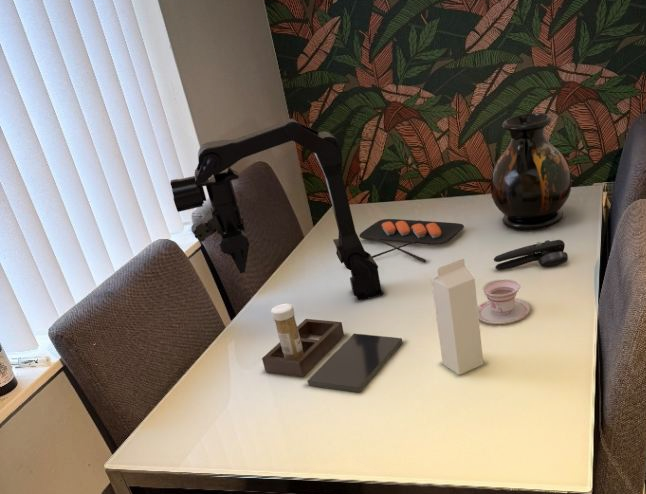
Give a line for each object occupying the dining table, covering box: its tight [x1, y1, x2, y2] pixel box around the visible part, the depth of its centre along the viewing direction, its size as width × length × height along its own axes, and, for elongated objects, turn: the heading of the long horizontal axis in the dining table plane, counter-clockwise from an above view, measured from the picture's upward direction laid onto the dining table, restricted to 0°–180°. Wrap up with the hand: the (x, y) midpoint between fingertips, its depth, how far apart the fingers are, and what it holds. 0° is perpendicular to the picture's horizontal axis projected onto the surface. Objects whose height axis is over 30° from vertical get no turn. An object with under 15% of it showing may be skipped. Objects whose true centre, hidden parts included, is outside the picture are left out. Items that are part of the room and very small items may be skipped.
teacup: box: [478, 278, 531, 325], centre depth 167 cm, size 12×12×6 cm
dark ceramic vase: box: [490, 112, 572, 232], centre depth 205 cm, size 22×22×28 cm
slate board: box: [307, 333, 404, 393], centre depth 159 cm, size 20×12×1 cm, turn 153°
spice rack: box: [261, 318, 345, 378], centre depth 166 cm, size 18×10×4 cm, turn 153°
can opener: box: [493, 239, 569, 271], centre depth 186 cm, size 18×7×6 cm, turn 88°
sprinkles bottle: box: [271, 303, 304, 360], centre depth 161 cm, size 5×5×14 cm
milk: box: [430, 258, 484, 376], centre depth 147 cm, size 6×6×22 cm
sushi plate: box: [358, 218, 465, 263], centre depth 211 cm, size 29×30×4 cm
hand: (241, 265), depth 178 cm, fingers open, 9 cm apart
